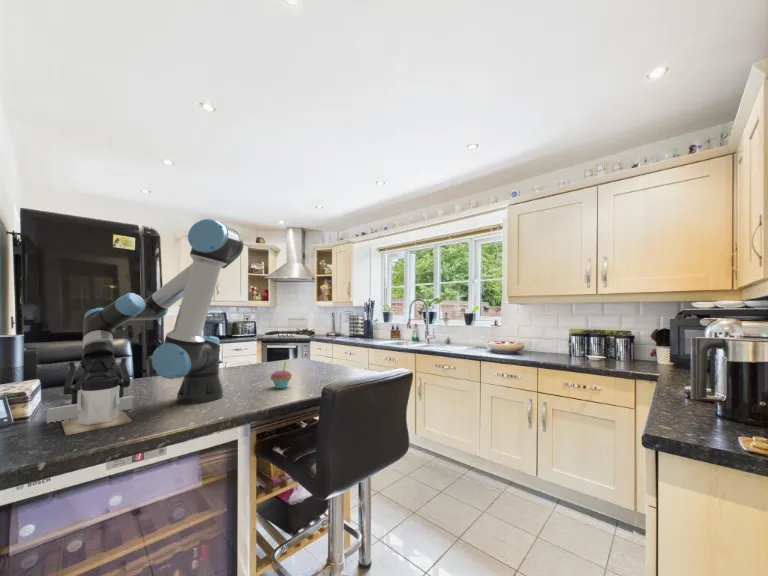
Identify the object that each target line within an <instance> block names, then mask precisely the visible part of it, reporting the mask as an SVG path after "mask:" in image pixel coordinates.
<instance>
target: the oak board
mask: <svg viewBox="0 0 768 576" xmlns="http://www.w3.org/2000/svg"><path fill="white" fill-rule="evenodd" d="M132 422H133V420H132V419H131V417H129V416H128V415H127V414H126V412H124V410H121V411H118V417H117V418H115V419H113V420H111V421H109V422H105V423H99V424H93V425H84V424H79V423H78V418H75V419H70V420H64V421H61V426H62V429H63V431H64V434H65V436H70V435H75V434H79V433H80V434H81V433H85V432H91V431H95V430H101V429H105V428H110V426H111V427H115V426H121V425H125V424H131V423H132Z"/></svg>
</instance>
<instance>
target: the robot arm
mask: <svg viewBox="0 0 768 576" xmlns="http://www.w3.org/2000/svg"><path fill="white" fill-rule="evenodd" d="M187 241H188V243H189V246H191V248H190V249H191V250H190V252H189V256H190V258H191V259H192V263H191V264H190V265H188V266H187V267H186V268H185V269H183V270H182V271H181V272H179V273H178V274H177V275H176V276H173V278H172V279H170V280H169V281H168V282H167V283H165V284H164V285H162V286H161V287H160V288H159V289H157V290H156V291H155V292H153V293H152V294H151V295H149V296H148V297H147V298H145V299H143V297H142V296H141V295H139V294H136V293H135V292H128V293H126V294H124V295H122V296H120V297H118V298H117V299H115V300H114V301H113V302H111V303H110V304H108V305H106V306H105V307H95V308H92V309H89V310H87V312H85V314H84V316H83V322H82V327H83V329H82V332H83V333H82V358H81V360H80V361H79V362H74V361H70V362H69V363H68V374H67V375H66V380H65V383H64V387H63V395H64V396H65V395H66V396H67V395H71V405H75V404H77V414H76V416H78V415H80V412H81V390H82V383H83V380H85V379H89V377H90V376H91V375H94V374H105V376H116V377H118V386H120V391H119V389H118V391H117V393H116V400H115V410H116V409H119V404H120V403H119V398H122V397H124V394H125V393H124V389H125V388H129V387H130V386H131V378H130V374H129V372H128V368H127V365H126V362H127V358H125V357H122V358H121V359H116V358H115V356H114V355H115V354H114V334H113V333H114V330H116V329H117V328H120V326H122V325H123V324H125V323H127V322H128V321H155V320H160V319H162V318H164V317H165V316H166V315H167V313H168V311H169V309H170V307H172V306H173V305H175V304H176V303H177V302H178V301H180V300H181V301H180V302H181V303H180V305H179V309H178V313H177V316H176V320H175V324H174V327H173V330H171V331H169V332H167V333H166V335H165V339H164V342H163V343H162V344H161V345H159V346H158V347H156V349H155V350H154V351H153V353H152V356H151V365H152V368H153V369H154V370H155V373H156V374H157V375H158V376H160V377H161V378H164V379H168V380H173V379H174V380H175V379H181V378H182V381H181V384H180V385H179V386H180V387H179V389H178V392H177V394H176V402H178V403H180V404H199V403H201V404H202V403H205V402H206V403H208V402H213V401H216V400H219V399H220V398H223V396H224V389H223V386H222V382H221V379H220V376H219V375H220V372H219V371H220V370H219V369H220V350H221V349H220V348H221V344H220V342H221V341H220V338H219V337H218V336H207V335H203V331H204V327H205V324H206V320H207V317H208V313H209V309H210V306H211V303H212V299H213V296H214V294H215V293H214V292H215V288H216V285H217V282H218V279H219V275H220V272H221V269H226V268H227V267H228V266H229V265H231V264H232V263H234V261H236V260H237V259H238V258H239V256H241V254H242V252H243V250H244V240H243V238H242V236H241V234H240V233H239V232H238V231H237V230H235V229H234V228H231V227H229V226H228V225H226V224H224V223H223V222H220V221H219V220H215V219H212V218H204V219H201V220H199V221H197V222H195V223H194V224H192V225H191V227H190V228H189V230H188V233H187ZM115 365H117V367H118V368H119V371H120V375H121V377H119V375H118V374H117V372H116V371H115V370H114V369H113V366H115ZM79 368H82V369H83V370H84V371H83V372H82V374H81V375H80V377H79V379H78V380H77V381H76V383H75V384H74V386H73V385H72V384H73V382H74V381H73V380H74V379H75V374H76V371H78V370H79ZM121 378H122V379H121ZM72 386H73V387H72Z"/></svg>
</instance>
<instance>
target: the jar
mask: <svg viewBox="0 0 768 576" xmlns="http://www.w3.org/2000/svg"><path fill="white" fill-rule="evenodd" d="M118 389H119V391H120V386H118V377H116V376H108V375H105V376H96V377H90V378H89V377H88V379H85V380H83V383H82V388H81V389H80V390H81V412H80V415H78V423H79V424H84V425H93V424H99V423H105V422H109V421H111V420H113V419H115V418H117V417H118V411H119V409H116V410H115V400H116V393H117V391H118Z"/></svg>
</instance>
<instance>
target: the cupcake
mask: <svg viewBox="0 0 768 576" xmlns="http://www.w3.org/2000/svg"><path fill="white" fill-rule="evenodd" d="M286 365H287V360H285V361H284V363H283V370H276V371H274V372H273V373H272V374H271V375H270V380H271V381H272V382H273V384H274V388H275V389H278V388H282V389H286V388H288V384H289V383H290V380H291V379H292V376H293V375H292V374H291V373H290V372H289V371H287V370H286ZM285 387H286V388H285Z"/></svg>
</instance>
